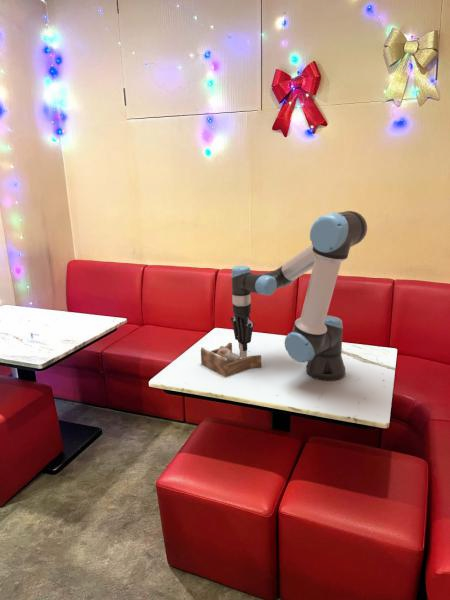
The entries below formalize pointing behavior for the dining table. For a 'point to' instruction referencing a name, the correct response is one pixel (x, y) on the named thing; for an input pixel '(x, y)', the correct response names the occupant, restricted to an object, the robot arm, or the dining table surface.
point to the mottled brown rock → (228, 354)
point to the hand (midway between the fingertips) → (243, 357)
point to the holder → (221, 363)
